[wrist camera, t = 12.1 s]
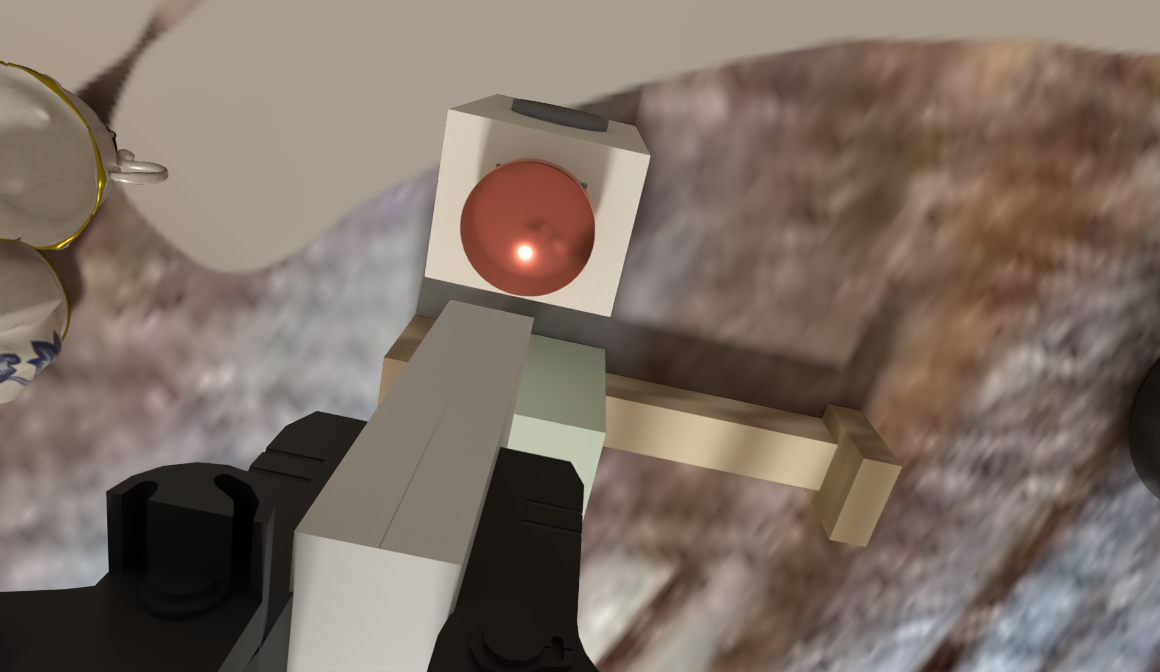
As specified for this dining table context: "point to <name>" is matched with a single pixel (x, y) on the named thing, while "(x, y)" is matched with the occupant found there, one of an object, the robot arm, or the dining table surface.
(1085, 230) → the dining table surface
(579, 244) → the button
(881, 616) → the dining table surface
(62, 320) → the chinaware
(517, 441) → the block
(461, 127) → the white tall block
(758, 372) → the dining table surface
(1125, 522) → the dining table surface
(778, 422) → the rail
